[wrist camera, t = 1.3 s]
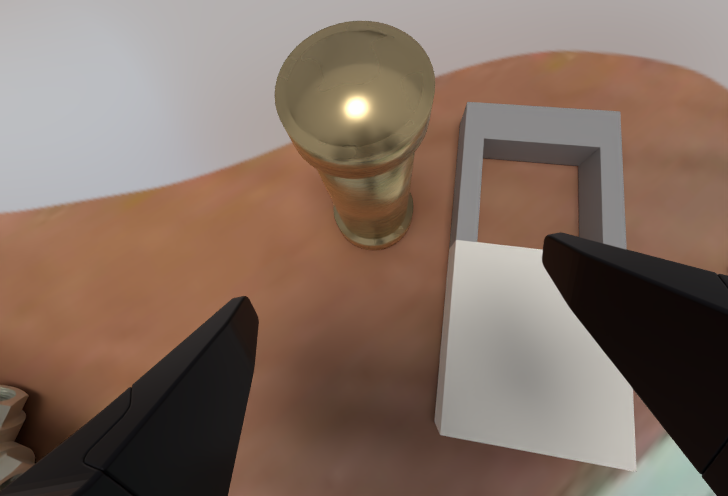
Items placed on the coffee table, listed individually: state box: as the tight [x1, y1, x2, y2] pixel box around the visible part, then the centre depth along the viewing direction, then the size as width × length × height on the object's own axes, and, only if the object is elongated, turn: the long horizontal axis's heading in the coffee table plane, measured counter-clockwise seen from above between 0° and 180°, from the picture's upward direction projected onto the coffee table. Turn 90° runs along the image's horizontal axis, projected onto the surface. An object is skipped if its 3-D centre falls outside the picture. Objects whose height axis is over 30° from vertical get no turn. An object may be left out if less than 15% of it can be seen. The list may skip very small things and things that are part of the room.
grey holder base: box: [434, 102, 637, 472], centre depth 20 cm, size 22×10×2 cm, turn 172°
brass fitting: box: [275, 21, 435, 250], centre depth 17 cm, size 6×6×13 cm
